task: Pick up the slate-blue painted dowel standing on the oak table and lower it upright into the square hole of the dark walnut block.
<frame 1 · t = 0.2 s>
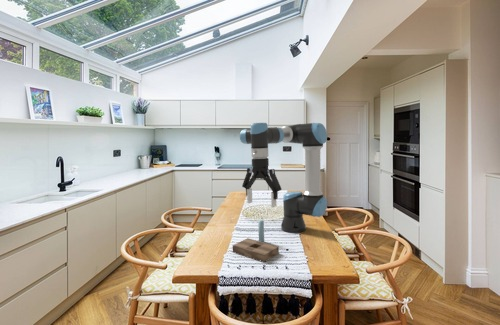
hand: (261, 204, 125), 27 cm above the table, fingers open, 13 cm apart
hole block: (255, 252, 139), on the table
peg: (261, 242, 153), on the table
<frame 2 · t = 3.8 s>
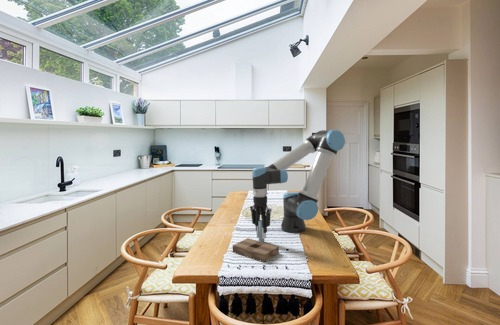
hand: (261, 237, 153), 3 cm above the table, fingers closed on peg, 3 cm apart
peg: (261, 241, 153), on the table, touching gripper
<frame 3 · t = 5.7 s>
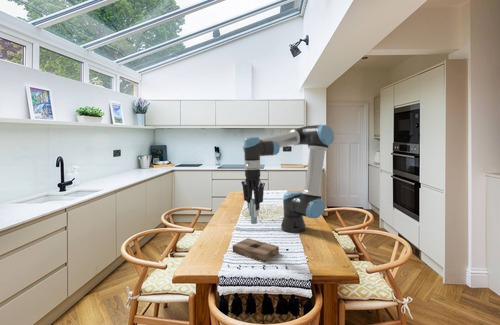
hand: (253, 215, 138), 19 cm above the table, fingers closed on peg, 3 cm apart
peg: (254, 223, 138), point 15 cm above the table, touching gripper
when the fingers open (5 cm above the table, at t = 8.0 s): peg drops 1 cm, resting in hole block.
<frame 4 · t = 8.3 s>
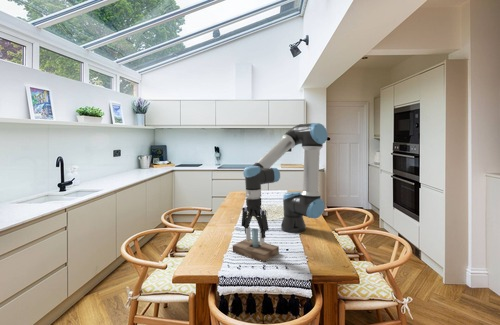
hand: (255, 242, 139), 5 cm above the table, fingers open, 8 cm apart
peg: (255, 252, 139), resting in hole block
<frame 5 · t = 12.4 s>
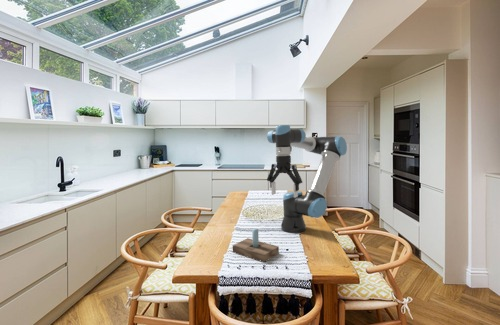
hand: (284, 195, 145), 27 cm above the table, fingers open, 13 cm apart
nothing on the table moved.
at the end: peg 0.2 cm off-centre on the hole block, point 0.0 cm above the hole block's base; peg tilted 0°; the gripper is holding nothing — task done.
